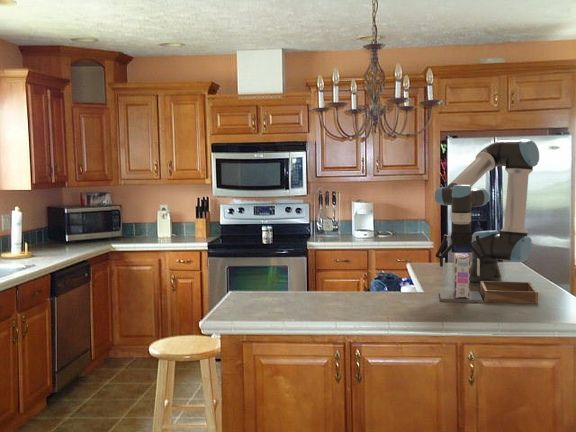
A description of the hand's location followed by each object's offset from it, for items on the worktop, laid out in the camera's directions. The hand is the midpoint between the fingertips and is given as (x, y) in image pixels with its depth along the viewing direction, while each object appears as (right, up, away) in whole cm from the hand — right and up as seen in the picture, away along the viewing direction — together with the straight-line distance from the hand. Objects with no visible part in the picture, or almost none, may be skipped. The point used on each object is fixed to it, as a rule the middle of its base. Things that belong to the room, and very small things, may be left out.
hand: (460, 274), depth 265 cm
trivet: (0, -9, +1) cm, 9 cm away
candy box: (0, -8, 0) cm, 8 cm away
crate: (+19, -9, +1) cm, 21 cm away
